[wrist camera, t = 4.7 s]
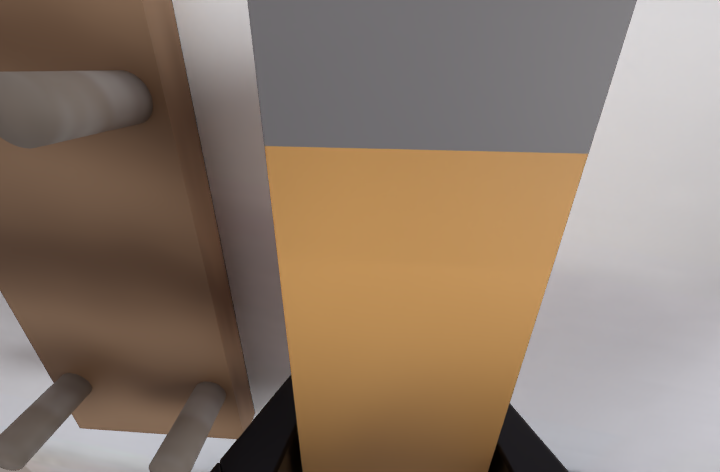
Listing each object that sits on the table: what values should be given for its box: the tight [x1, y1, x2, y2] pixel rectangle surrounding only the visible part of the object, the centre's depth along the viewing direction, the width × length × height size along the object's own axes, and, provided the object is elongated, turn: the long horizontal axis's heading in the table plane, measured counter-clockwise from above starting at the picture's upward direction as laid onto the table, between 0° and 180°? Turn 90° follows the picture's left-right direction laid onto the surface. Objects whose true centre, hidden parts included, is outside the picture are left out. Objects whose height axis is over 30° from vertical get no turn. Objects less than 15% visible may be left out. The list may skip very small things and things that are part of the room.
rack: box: [0, 0, 255, 472], centre depth 12 cm, size 20×9×5 cm, turn 179°
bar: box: [248, 0, 637, 472], centre depth 8 cm, size 16×4×4 cm, turn 179°
